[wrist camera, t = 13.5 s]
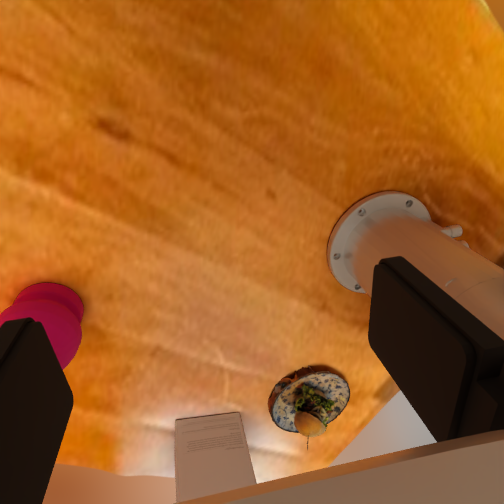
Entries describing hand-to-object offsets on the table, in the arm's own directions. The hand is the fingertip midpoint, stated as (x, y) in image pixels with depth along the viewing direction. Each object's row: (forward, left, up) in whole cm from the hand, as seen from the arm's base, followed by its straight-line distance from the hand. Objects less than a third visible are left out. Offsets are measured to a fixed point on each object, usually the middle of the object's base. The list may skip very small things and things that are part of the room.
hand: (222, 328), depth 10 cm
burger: (-11, +37, -26) cm, 47 cm away
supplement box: (+4, +40, -26) cm, 48 cm away
